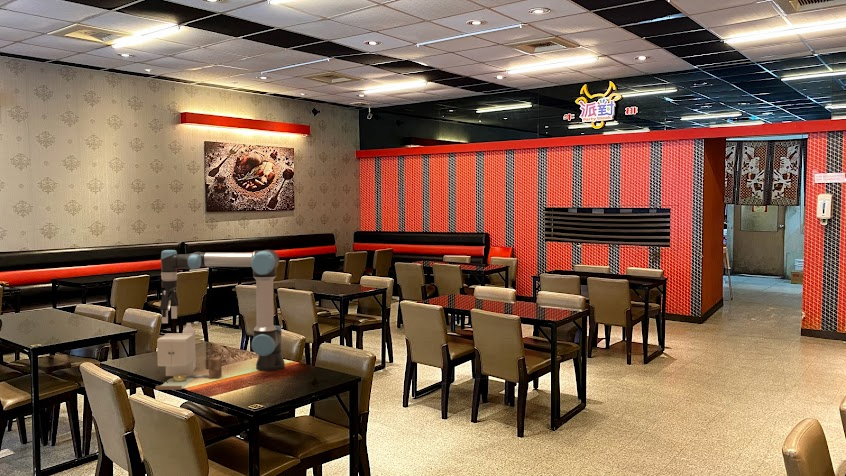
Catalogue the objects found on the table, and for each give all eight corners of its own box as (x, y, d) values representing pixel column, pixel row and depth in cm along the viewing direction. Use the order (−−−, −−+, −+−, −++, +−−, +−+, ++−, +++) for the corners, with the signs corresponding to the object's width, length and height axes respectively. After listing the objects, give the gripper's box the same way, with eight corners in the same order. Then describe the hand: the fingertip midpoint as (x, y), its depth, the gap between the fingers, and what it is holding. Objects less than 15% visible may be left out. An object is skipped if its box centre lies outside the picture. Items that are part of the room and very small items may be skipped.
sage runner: (194, 378, 332) (194, 375, 332) (181, 389, 312) (181, 386, 312) (170, 378, 332) (170, 375, 332) (155, 389, 312) (155, 386, 312)
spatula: (221, 376, 337) (221, 357, 336) (218, 378, 332) (218, 359, 331) (180, 376, 336) (180, 357, 336) (177, 378, 331) (176, 359, 331)
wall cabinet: (194, 375, 338) (193, 333, 337) (185, 382, 324) (184, 338, 323) (166, 375, 338) (166, 333, 336) (156, 382, 324) (156, 338, 323)
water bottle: (186, 371, 346) (185, 324, 345) (180, 369, 351) (180, 322, 350) (201, 368, 353) (201, 322, 351) (196, 366, 357) (195, 320, 356)
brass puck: (187, 378, 331) (187, 373, 331) (183, 382, 325) (183, 377, 325) (175, 378, 331) (175, 373, 331) (171, 382, 325) (171, 377, 325)
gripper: (170, 277, 350) (170, 316, 351) (152, 282, 325) (153, 325, 326) (184, 277, 350) (184, 316, 351) (167, 282, 325) (168, 325, 326)
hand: (169, 320), depth 339 cm, fingers open, 13 cm apart
